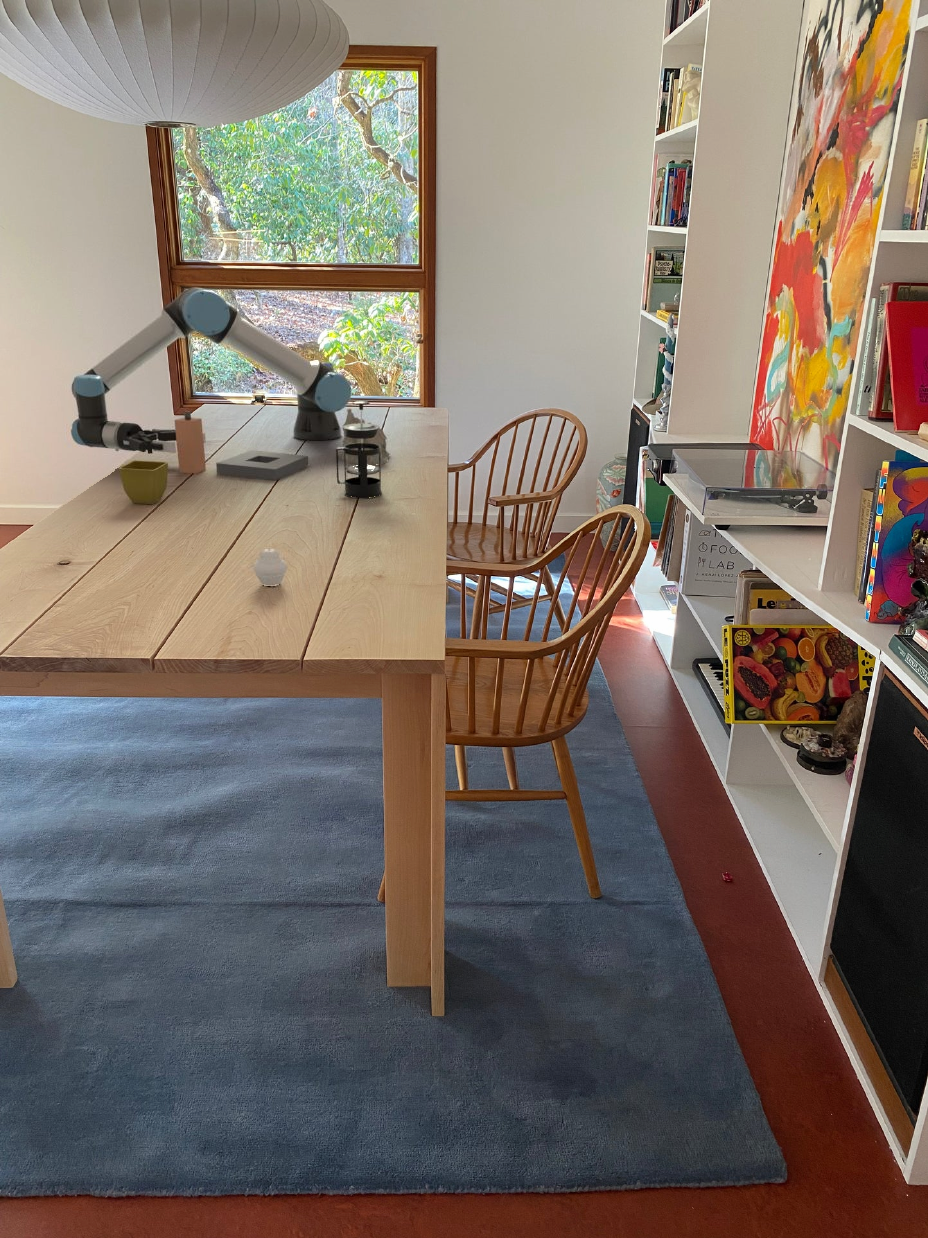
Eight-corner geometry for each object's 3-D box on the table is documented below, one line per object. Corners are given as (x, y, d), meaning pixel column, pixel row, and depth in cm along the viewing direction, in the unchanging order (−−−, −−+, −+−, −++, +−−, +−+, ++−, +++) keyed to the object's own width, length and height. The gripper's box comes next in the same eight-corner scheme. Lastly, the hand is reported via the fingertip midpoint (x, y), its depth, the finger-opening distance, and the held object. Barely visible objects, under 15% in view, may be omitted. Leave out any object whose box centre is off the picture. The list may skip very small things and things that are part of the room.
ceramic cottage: (360, 467, 264) (361, 412, 259) (331, 458, 276) (332, 406, 271) (407, 463, 273) (408, 411, 268) (377, 455, 285) (378, 405, 280)
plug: (190, 468, 259) (184, 409, 253) (205, 469, 258) (200, 410, 252) (179, 472, 255) (173, 412, 249) (195, 473, 253) (189, 413, 247)
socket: (252, 460, 269) (251, 450, 268) (308, 466, 264) (308, 455, 263) (217, 474, 253) (216, 462, 252) (276, 480, 248) (275, 469, 247)
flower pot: (172, 497, 230) (168, 461, 227) (158, 507, 222) (154, 469, 219) (137, 496, 231) (133, 460, 227) (122, 505, 223) (117, 468, 219)
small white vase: (286, 590, 172) (284, 553, 170) (252, 590, 172) (249, 553, 169) (289, 578, 178) (287, 543, 175) (256, 578, 177) (254, 543, 175)
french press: (382, 488, 242) (381, 398, 233) (386, 498, 233) (384, 404, 225) (336, 489, 240) (333, 398, 232) (338, 499, 232) (335, 404, 223)
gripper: (153, 441, 272) (217, 447, 265) (95, 458, 250) (162, 466, 243) (150, 415, 269) (214, 420, 262) (91, 430, 247) (159, 437, 241)
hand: (190, 442), depth 253 cm, fingers open, 13 cm apart
